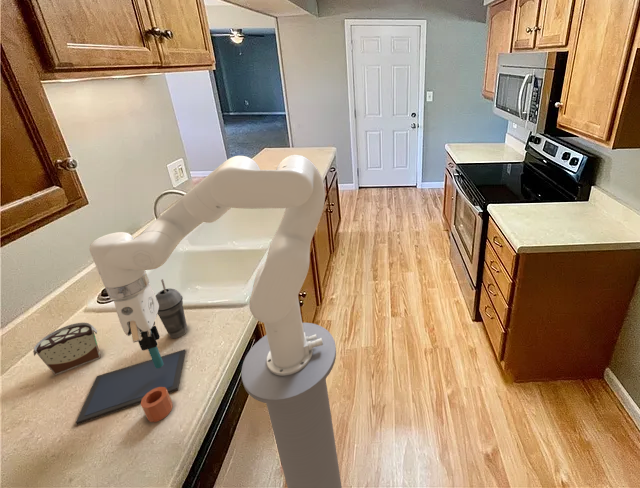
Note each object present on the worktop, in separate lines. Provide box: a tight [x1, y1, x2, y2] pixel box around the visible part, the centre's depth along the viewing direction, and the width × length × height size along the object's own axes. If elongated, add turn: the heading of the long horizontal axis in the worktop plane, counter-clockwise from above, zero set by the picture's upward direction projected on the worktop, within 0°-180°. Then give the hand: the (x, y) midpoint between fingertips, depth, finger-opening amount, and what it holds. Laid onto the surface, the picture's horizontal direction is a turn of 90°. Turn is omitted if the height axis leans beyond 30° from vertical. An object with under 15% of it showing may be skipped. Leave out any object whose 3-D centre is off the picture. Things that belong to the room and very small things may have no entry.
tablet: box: [75, 349, 187, 425], centre depth 84 cm, size 20×13×1 cm, turn 114°
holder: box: [140, 387, 174, 423], centre depth 77 cm, size 5×5×5 cm
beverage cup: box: [155, 278, 188, 339], centre depth 97 cm, size 7×7×20 cm
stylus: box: [141, 329, 164, 368], centre depth 83 cm, size 2×2×13 cm
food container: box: [32, 322, 101, 376], centre depth 90 cm, size 12×6×10 cm, turn 125°
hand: (151, 343), depth 83 cm, fingers closed on stylus, 1 cm apart
